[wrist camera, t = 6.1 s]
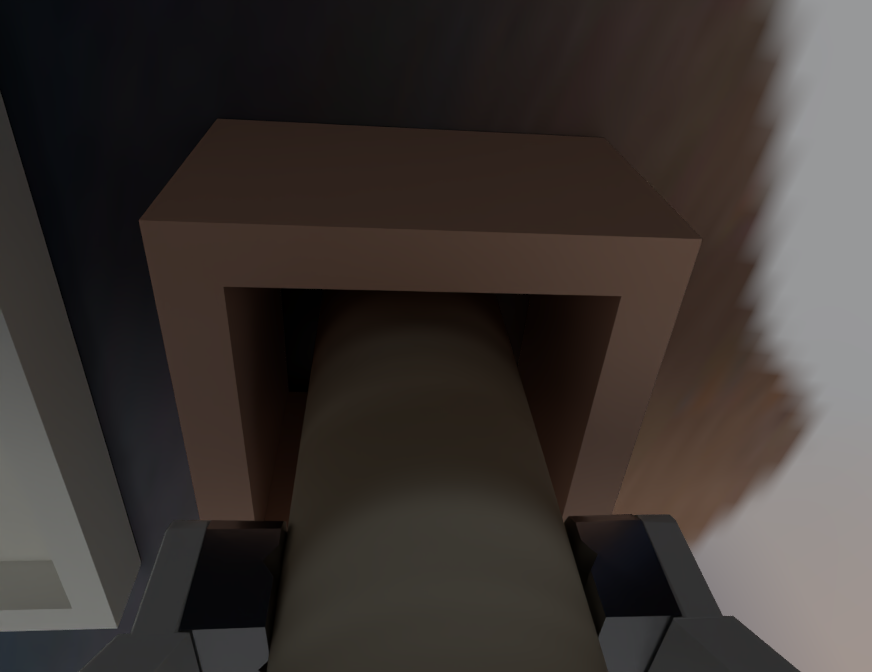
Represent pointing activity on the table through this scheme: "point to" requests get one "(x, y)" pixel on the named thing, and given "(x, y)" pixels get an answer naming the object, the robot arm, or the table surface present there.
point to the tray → (50, 444)
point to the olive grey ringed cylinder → (424, 502)
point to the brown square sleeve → (410, 283)
